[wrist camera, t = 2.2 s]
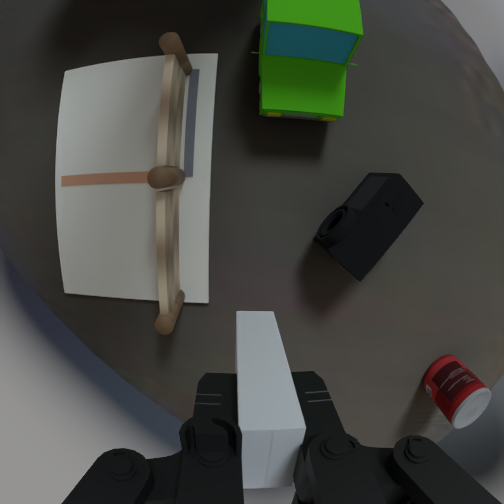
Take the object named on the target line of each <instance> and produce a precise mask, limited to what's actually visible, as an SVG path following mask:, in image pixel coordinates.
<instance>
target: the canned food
mask: <svg viewBox="0 0 504 504" xmlns="http://www.w3.org/2000/svg"><path fill="white" fill-rule="evenodd" d="M423 385H424V388H425V390H426V392H427V393H428V394H429V396H430V397H431V398H432V399H433V401H434V402H435V403H436V405H437V406H438V407H439V409H440V410H441V411H442V413H443V414H444V415H445V417H446V418H447V419H448V421H449V422H450V423H451V424H452V425H453V426H454V427H455V428H456V429H460V428H463V427H465V426H467V425H469V424H470V423H472V422H473V421H474V420H476V419H477V418H478V417H479V416H480V414H481V413H482V412H483V411H484V410H485V408H486V406H487V405H488V403H489V401H490V398H491V392H490V391H489V389H488V388H487V387H486V386H485V385H484V384H483V383H482V382H481V381H480V380H479V379H478V378H477V377H476V376H475V375H474V374H473V373H472V372H471V371H470V370H469V369H468V368H467V367H466V366H465V365H464V364H463V363H462V362H461V361H459V360H458V359H457V358H456V357H454V356H451V355H446V356H443V357H441V358H439V359H437V360H436V361H435V362H434V363H433V364H432V365H431V366H430V367H429V368H428V370H427V371H426V373H425V375H424V378H423Z"/></svg>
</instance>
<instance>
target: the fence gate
mask: <svg viewBox="0 0 504 504" xmlns="http://www.w3.org/2000/svg"><path fill="white" fill-rule="evenodd" d="M156 248H157V273H158V291H159V305H160V313H159V315H158V317H157V319H156V321H155V323H154V326H155V329H156V330H157V332H159V333H160V334H163V335H167V334H170V333H171V332H172V331H173V328H174V326H175V323H176V320H177V318H178V315H179V312H180V310H181V307H182V305H183V302H184V299H185V294H184V292H183V291H182V290H180V268H179V188H171V189H167V190H163V191H158V192H156Z"/></svg>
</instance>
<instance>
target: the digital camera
mask: <svg viewBox="0 0 504 504" xmlns="http://www.w3.org/2000/svg"><path fill="white" fill-rule="evenodd" d="M423 204H424V203H423V202H422V200H421V199H420V198H419V197H418V195H417V194H416V193H415V192H414V190H413V189H412V188H411V187H410V185H409V184H408V183H407V182H406V181H405V179H404V178H403V177H402V176H401V175H400V174H396V173H369V174H368V175H367V176H366V177H365V178H364V180H363V181H362V182H361V183H360V184H359V186H358V187H357V188H356V189H355V190H354V192H353V193H352V194H351V195H350V196H349V198H348V199H347V200H346V201H345V202H344V203H343V205H342V206H340V207H338V208H336V209H335V210H334V211H333V212H331V213H330V214H329V215H328V216H327V218H326V219H325V220H324V221H323V223H322V224H321V225H320V227H319V229H318V231H317V235H316V236H315V237H314V241H316V242H317V243H318V244H319V245H320V246H321V247H322V248H323V249H324V250H325V251H327V252H328V253H329V254H330V255H331V256H332V257H333V258H334V259H335V260H336V261H338V262H339V263H340V264H341V265H342V266H343V267H344V268H345V269H346V270H347V271H349V272H350V273H351V274H352V275H353V276H354V277H355V278H356V279H357V280H359V281H361V280H362V279H363V278H364V277H365V276H366V274H367V273H368V272H369V271H370V270H371V269H372V268H373V267H374V265H375V264H376V263H377V262H378V261H379V259H380V258H381V257H382V256H383V255H384V254H385V252H386V251H387V250H388V249H389V247H390V246H391V245H392V244H393V243H394V241H395V240H396V239H397V238H398V236H399V235H400V234H401V233H402V231H403V230H404V229H405V228H406V226H407V225H408V224H409V222H410V221H411V220H412V218H413V217H414V216H415V214H416V213H417V212H418V210H419V209H420V208H421V206H422V205H423Z"/></svg>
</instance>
